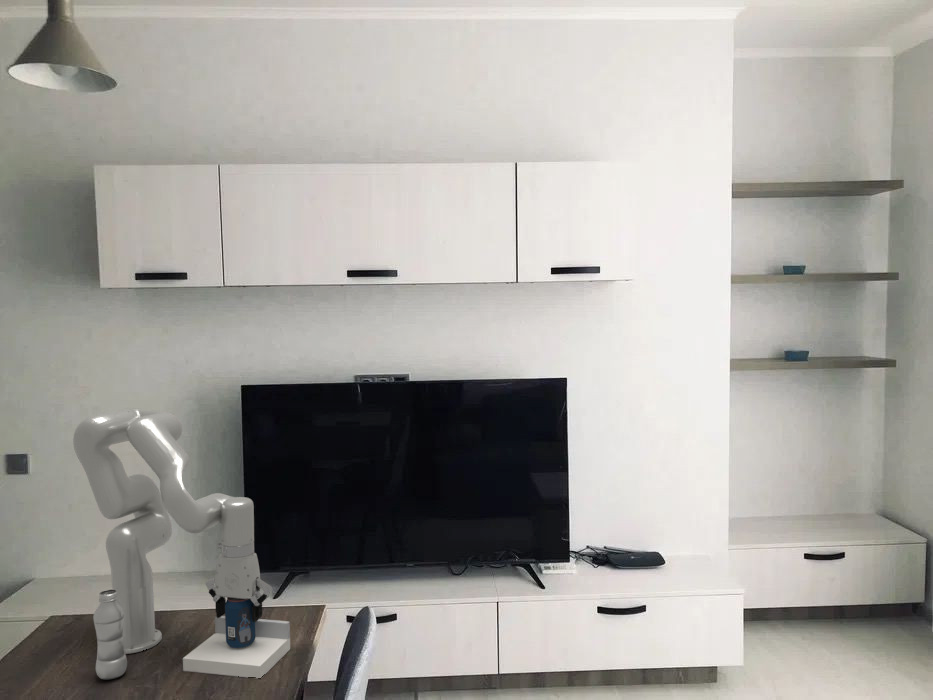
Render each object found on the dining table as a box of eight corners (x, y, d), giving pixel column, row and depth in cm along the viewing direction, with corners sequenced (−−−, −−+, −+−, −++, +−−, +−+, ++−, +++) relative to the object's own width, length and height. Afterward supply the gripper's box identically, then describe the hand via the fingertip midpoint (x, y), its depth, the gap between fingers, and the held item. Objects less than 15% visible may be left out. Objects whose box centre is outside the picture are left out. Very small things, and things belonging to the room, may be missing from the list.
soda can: (238, 635, 181) (237, 588, 180) (261, 639, 178) (260, 592, 178) (220, 647, 175) (218, 599, 174) (243, 652, 172) (241, 603, 171)
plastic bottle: (115, 684, 164) (111, 598, 163) (89, 682, 165) (85, 596, 164) (133, 670, 170) (130, 587, 169) (108, 668, 171) (105, 586, 170)
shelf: (183, 670, 170) (182, 641, 169) (218, 642, 184) (217, 615, 184) (260, 678, 165) (259, 649, 165) (290, 648, 180) (289, 621, 180)
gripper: (197, 551, 173) (198, 620, 174) (262, 557, 170) (263, 628, 171) (214, 541, 181) (215, 608, 182) (277, 547, 177) (278, 614, 178)
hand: (238, 617), depth 176 cm, fingers open, 9 cm apart
